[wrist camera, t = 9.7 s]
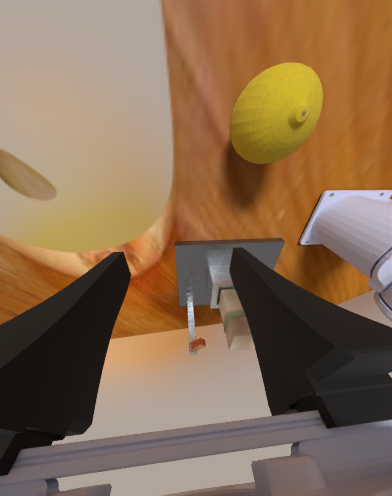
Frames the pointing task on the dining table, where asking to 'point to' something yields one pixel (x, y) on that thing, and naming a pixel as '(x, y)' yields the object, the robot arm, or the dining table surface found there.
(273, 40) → the dining table surface
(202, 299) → the stand
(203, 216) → the dining table surface
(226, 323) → the block
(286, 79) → the lemon
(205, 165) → the dining table surface
